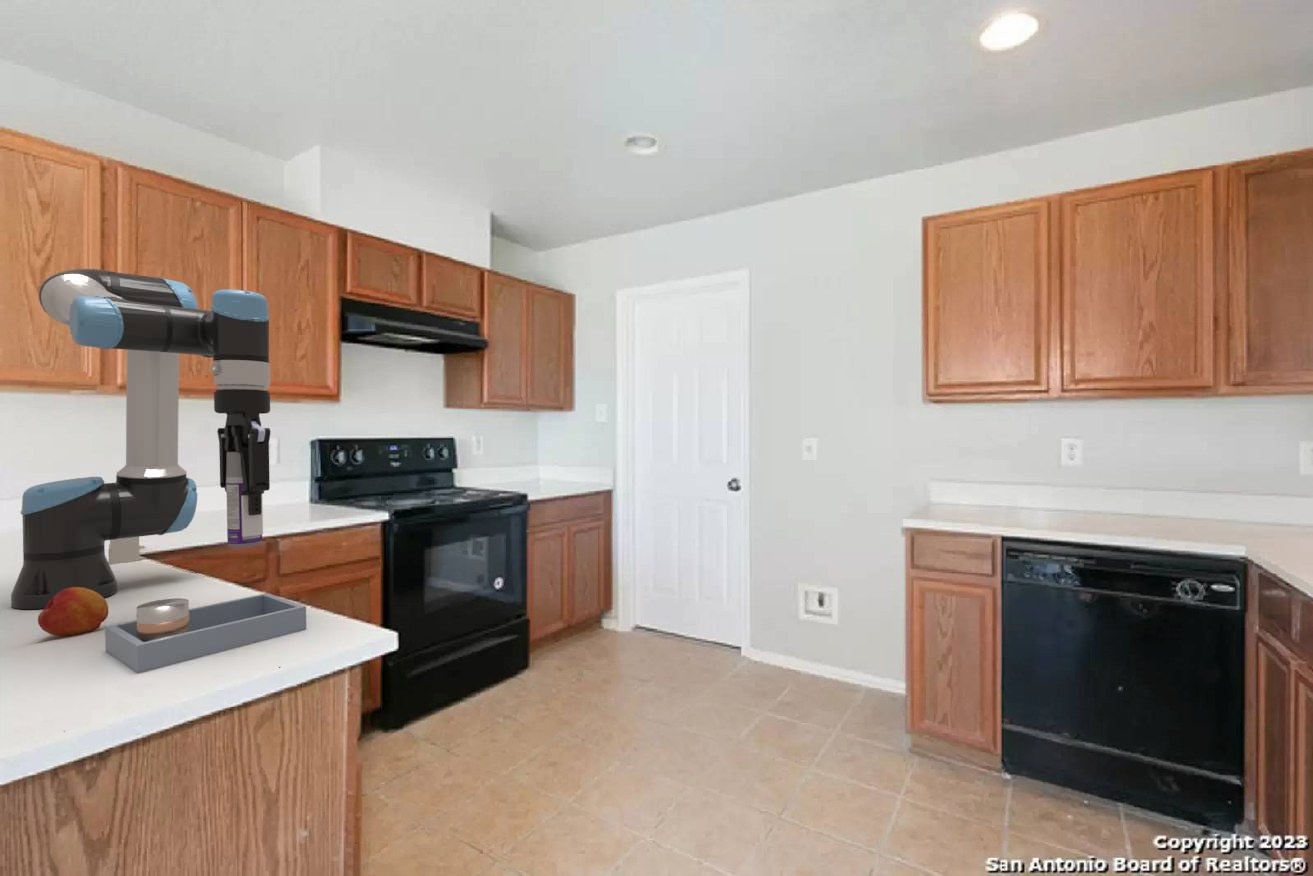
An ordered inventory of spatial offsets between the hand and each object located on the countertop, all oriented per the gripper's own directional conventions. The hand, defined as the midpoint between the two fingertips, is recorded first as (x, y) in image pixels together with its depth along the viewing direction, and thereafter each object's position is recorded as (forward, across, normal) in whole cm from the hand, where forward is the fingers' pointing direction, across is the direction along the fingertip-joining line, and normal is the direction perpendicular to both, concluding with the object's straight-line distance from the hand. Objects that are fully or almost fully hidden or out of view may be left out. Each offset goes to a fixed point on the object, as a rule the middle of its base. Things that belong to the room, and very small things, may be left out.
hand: (245, 533), depth 101 cm
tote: (+17, 0, -5) cm, 17 cm away
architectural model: (+17, -85, +6) cm, 87 cm away
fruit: (+17, -23, -16) cm, 33 cm away
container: (+2, 0, 0) cm, 2 cm away
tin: (+16, 0, -11) cm, 19 cm away
